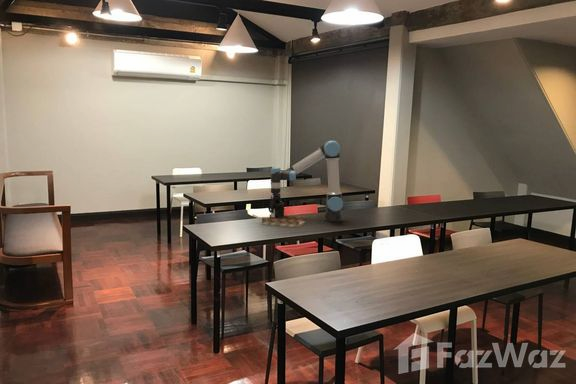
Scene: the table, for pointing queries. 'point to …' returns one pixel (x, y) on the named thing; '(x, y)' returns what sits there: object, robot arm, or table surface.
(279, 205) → the mug
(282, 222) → the brown lumpy flat block
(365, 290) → the table surface
